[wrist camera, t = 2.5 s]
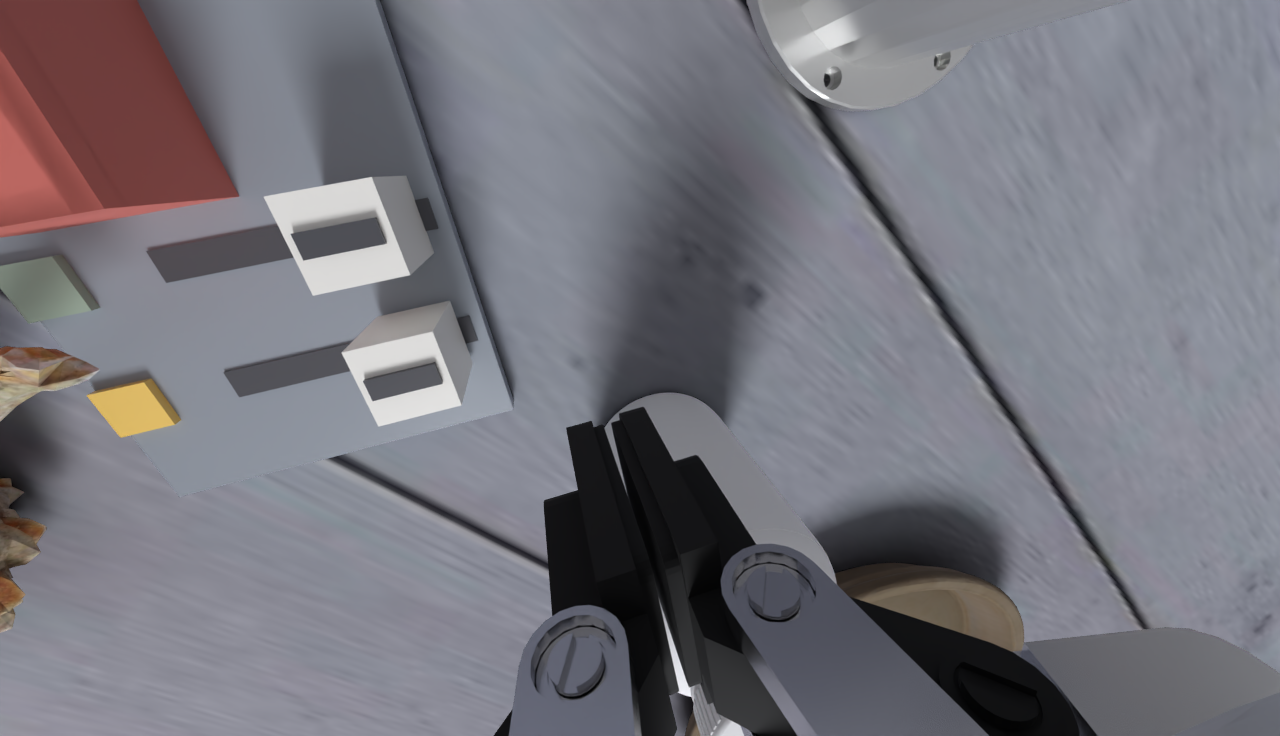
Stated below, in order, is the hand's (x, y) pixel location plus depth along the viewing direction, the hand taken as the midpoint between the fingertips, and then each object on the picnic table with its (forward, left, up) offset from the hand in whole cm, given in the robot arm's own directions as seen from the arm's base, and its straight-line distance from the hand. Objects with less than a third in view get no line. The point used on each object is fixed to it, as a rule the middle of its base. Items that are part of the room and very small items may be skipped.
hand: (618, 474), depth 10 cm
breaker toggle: (+6, 0, -13) cm, 14 cm away
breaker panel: (+11, -5, -14) cm, 18 cm away
